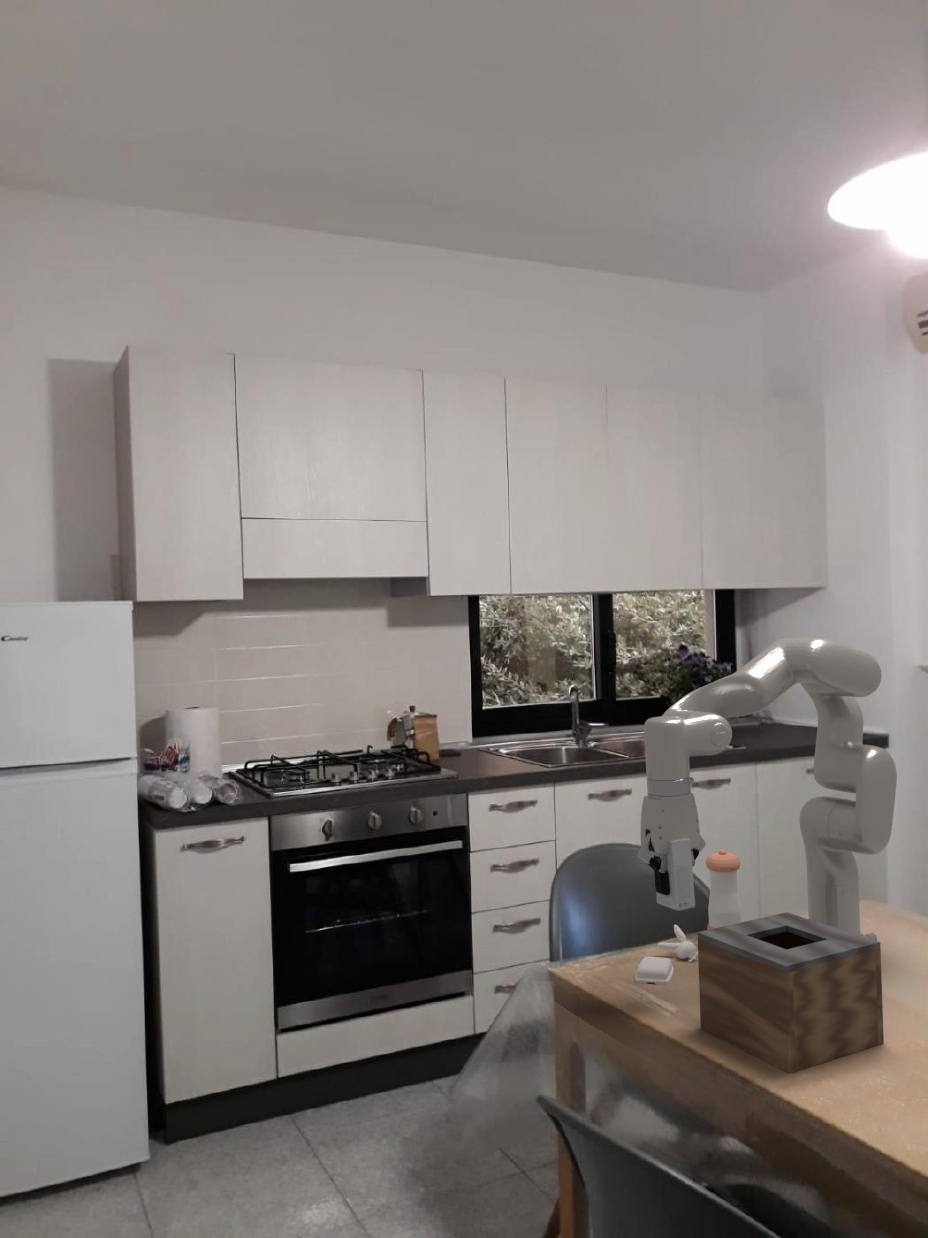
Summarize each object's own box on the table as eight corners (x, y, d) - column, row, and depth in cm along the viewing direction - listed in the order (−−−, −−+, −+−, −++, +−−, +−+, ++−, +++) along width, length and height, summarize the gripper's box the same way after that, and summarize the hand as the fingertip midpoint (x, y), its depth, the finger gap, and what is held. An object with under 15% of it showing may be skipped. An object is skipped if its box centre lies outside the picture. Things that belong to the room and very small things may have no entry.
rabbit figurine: (684, 966, 205) (654, 940, 210) (686, 975, 208) (656, 950, 213) (705, 945, 207) (674, 920, 212) (706, 955, 210) (676, 930, 215)
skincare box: (696, 907, 183) (693, 838, 183) (675, 912, 181) (672, 842, 181) (674, 899, 188) (671, 832, 188) (654, 904, 186) (650, 836, 186)
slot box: (789, 1003, 184) (786, 912, 183) (883, 1043, 166) (880, 942, 166) (700, 1028, 174) (697, 932, 174) (790, 1073, 157) (786, 966, 156)
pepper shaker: (719, 934, 224) (716, 844, 223) (750, 941, 218) (747, 849, 218) (701, 942, 218) (697, 850, 218) (731, 950, 213) (728, 855, 213)
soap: (640, 968, 205) (640, 953, 205) (675, 971, 203) (675, 956, 203) (632, 984, 197) (632, 969, 197) (669, 987, 195) (668, 971, 195)
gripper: (692, 778, 192) (697, 878, 192) (616, 791, 184) (622, 895, 184) (720, 784, 185) (725, 887, 185) (643, 797, 177) (649, 904, 177)
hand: (674, 890), depth 185 cm, fingers closed on skincare box, 4 cm apart
